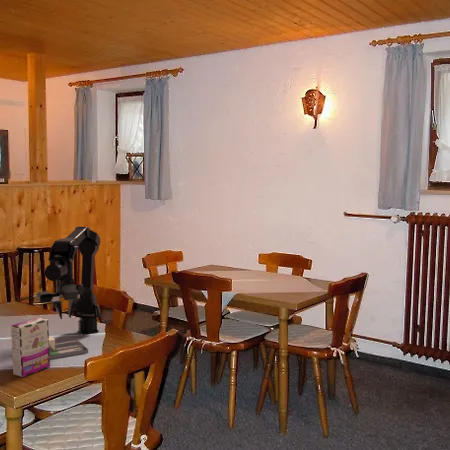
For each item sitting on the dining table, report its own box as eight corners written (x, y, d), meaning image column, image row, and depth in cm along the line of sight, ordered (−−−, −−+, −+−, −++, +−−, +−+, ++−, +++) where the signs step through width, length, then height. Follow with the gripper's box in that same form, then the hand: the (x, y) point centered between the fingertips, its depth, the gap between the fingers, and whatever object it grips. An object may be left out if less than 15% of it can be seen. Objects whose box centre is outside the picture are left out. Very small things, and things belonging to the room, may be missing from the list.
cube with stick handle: (52, 347, 195) (51, 336, 195) (58, 353, 189) (57, 342, 189) (40, 349, 193) (40, 338, 193) (46, 355, 187) (46, 344, 186)
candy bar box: (40, 364, 182) (39, 316, 181) (50, 367, 180) (49, 319, 178) (11, 374, 173) (10, 324, 171) (21, 378, 170) (20, 327, 168)
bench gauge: (76, 342, 205) (76, 329, 204) (88, 352, 194) (88, 338, 194) (24, 351, 195) (24, 337, 194) (33, 362, 184) (33, 347, 183)
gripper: (43, 282, 182) (45, 327, 183) (97, 276, 192) (98, 319, 193) (35, 276, 191) (36, 319, 193) (87, 271, 201) (87, 312, 203)
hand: (65, 318), depth 195 cm, fingers open, 3 cm apart
